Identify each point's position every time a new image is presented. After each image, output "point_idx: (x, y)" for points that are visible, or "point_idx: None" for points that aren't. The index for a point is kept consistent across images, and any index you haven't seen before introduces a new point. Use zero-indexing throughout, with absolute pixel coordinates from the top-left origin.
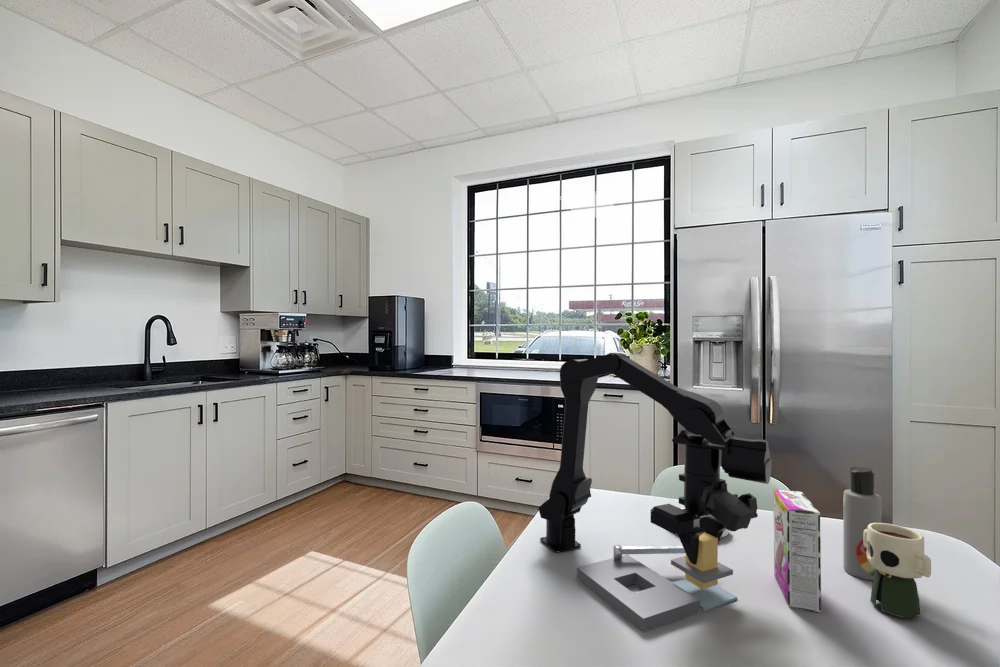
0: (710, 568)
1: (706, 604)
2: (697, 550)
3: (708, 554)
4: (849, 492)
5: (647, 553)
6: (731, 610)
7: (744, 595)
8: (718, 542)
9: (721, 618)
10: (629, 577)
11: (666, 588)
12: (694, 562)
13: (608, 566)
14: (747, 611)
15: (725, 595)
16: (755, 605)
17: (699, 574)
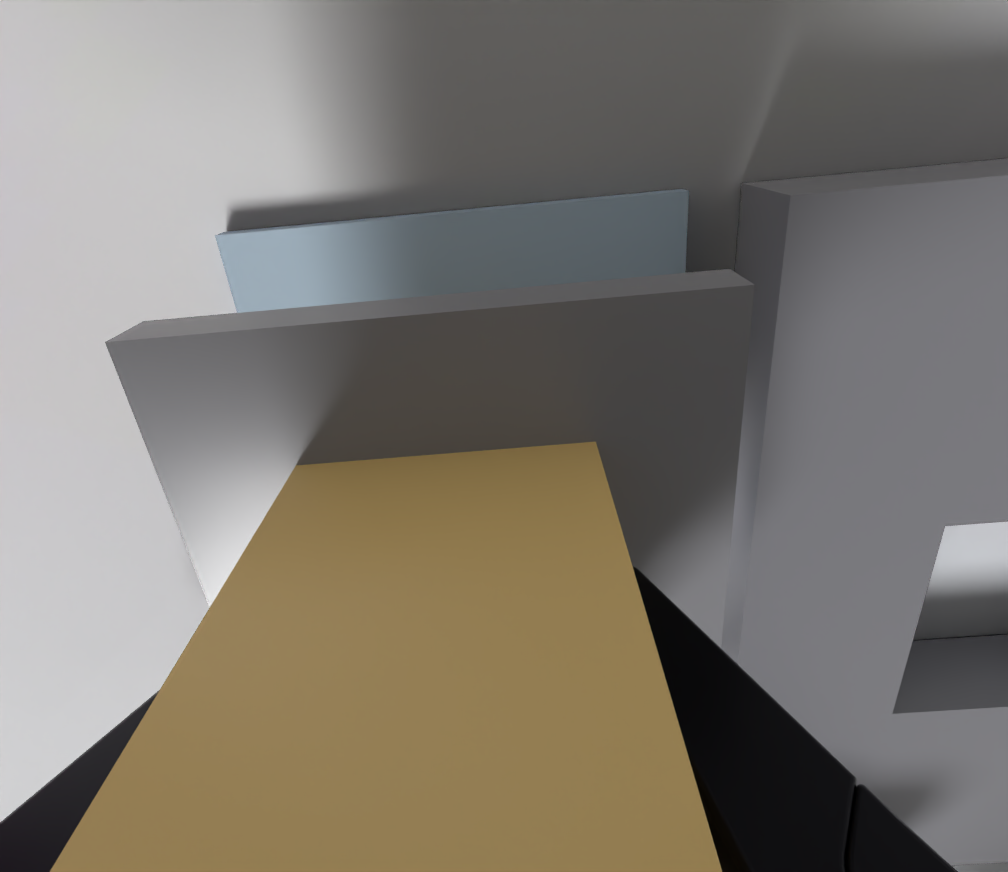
0: (436, 460)
1: (612, 237)
2: (702, 727)
3: (472, 602)
4: None
5: None
6: (422, 98)
7: (107, 261)
8: (9, 821)
9: (633, 17)
10: (936, 688)
11: (897, 471)
12: (649, 585)
13: (984, 812)
14: (271, 18)
15: (317, 292)
16: (108, 79)
17: (709, 397)
